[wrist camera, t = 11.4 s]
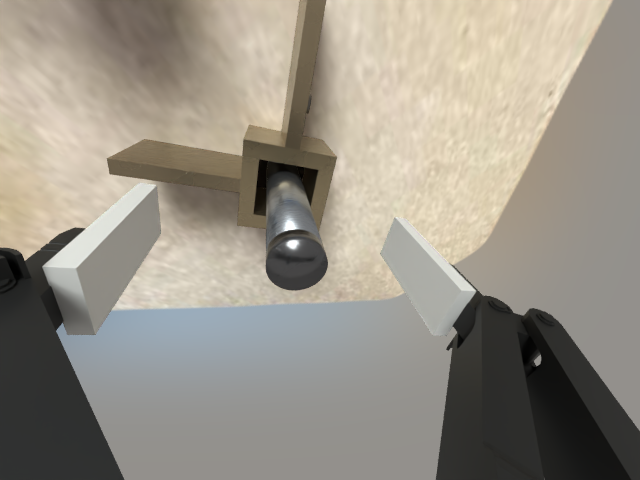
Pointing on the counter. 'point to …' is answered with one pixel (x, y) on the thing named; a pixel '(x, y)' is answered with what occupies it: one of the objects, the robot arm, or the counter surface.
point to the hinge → (251, 143)
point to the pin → (291, 231)
